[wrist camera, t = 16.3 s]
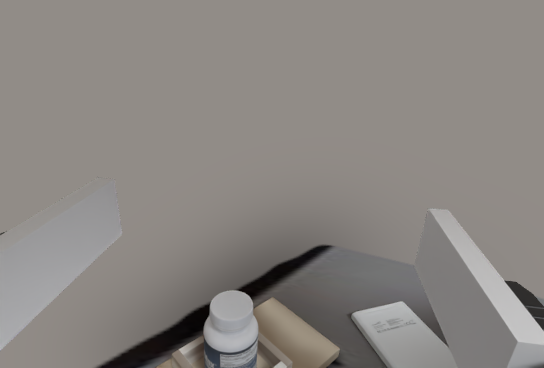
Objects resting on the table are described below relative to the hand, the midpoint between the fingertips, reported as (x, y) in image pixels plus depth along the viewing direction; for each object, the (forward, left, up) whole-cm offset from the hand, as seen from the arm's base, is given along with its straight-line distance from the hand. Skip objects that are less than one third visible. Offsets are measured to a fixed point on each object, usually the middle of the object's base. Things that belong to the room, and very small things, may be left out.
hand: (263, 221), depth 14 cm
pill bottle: (+4, -12, -25) cm, 28 cm away
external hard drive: (-16, -19, -26) cm, 36 cm away
